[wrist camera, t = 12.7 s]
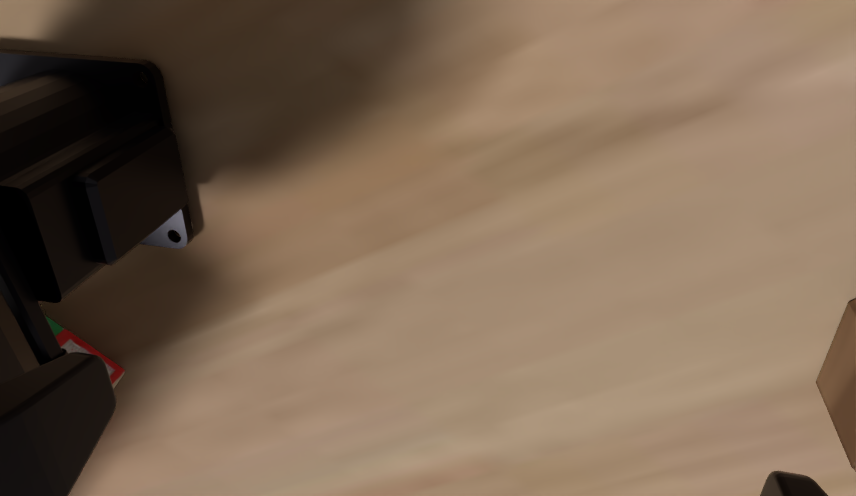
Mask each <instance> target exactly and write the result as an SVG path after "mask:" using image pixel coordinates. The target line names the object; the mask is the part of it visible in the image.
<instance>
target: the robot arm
mask: <svg viewBox="0 0 856 496" xmlns="http://www.w3.org/2000/svg"><path fill="white" fill-rule="evenodd" d="M141 72H143V73H144V74H145V75H146V77H147V79H148V83H145V82H144V81H143V80H142V78H141ZM174 230H175V231H177V232H178V233H179V234H180V236H181V237H179V236H178V235H177V234H175V232H174ZM192 238H193V229H192V224H191V219H190V214H189V208H188V196H187V191H186V186H185V180H184V175H183V170H182V165H181V160H180V155H179V150H178V145H177V140H176V135H175V133H174V132H173V128H172V122H171V117H170V112H169V107H168V102H167V97H166V92H165V87H164V82H163V77H162V74H161V72H160V70H159V69H158V67H157V66H156V65H155V64H153V63H152V62H151V61H147V60H140V59H126V58H113V57H99V56H85V55H71V54H58V53H44V52H30V51H16V50H3V49H0V496H68V495H69V493H70V491H71V490H72V488H73V486H74V484H75V482H76V480H77V479H78V477H79V475H80V473H81V471H82V470H83V468H84V466H85V464H86V462H87V461H88V459H89V457H90V455H91V453H92V452H93V450H94V448H95V446H96V444H97V443H98V441H99V439H100V437H101V435H102V434H103V432H104V430H105V428H106V426H107V425H108V423H109V421H110V419H111V417H112V415H113V413H114V410H115V407H116V395H115V392H114V389H113V385H112V382H111V379H110V376H109V373H108V369H107V366H106V363H105V361H104V360H103V359H102V358H101V357H100V356H98V355H93V354H87V353H81V352H72V353H68V352H67V350H66V349H63V348H61V347H60V345H59V343H58V341H57V339H56V336H55V334H54V332H53V330H52V328H51V326H50V324H49V322H48V320H47V318H46V316H45V314H44V312H43V310H42V308H41V306H40V303H41V302H42V301H46V302H53V303H58V302H60V301H61V300H63V299H64V298H65V297H66V296H68V295H69V294H70V293H71V292H73V291H74V290H75V289H76V288H77V287H79V286H80V285H81V284H82V283H84V282H85V281H86V280H87V279H89V278H90V277H91V276H92V275H93V274H95V273H96V272H97V271H98V270H100V269H101V268H102V267H103V266H105V265H113V264H115V263H116V262H118V261H119V260H120V259H121V258H123V257H124V256H125V255H126V254H127V253H129V252H130V251H131V250H132V249H133V248H135V247H136V246H137V245H138V244H145V245H152V246H160V247H168V248H175V249H180V248H183V247H185V246H186V245H187V244H188V243H189V242H190V241H191V240H192ZM760 496H828V495H827V494H826V493H825V492H824V491H823V490H822V488H821V487H820V486H819V485H818V484H817V483H816V482H815V481H814V480H813V479H811V478H810V477H808V476H805V475H800V474H794V473H788V472H782V471H773V472H771V473H770V474H769V476H768V477H767V479H766V482H765V485H764V487H763V490H762V492H761V495H760Z"/></svg>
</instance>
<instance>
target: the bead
mask: <svg viewBox="0 0 856 496" xmlns="http://www.w3.org/2000/svg"><path fill="white" fill-rule="evenodd" d="M816 384H817V386H818V388H819V391H820V393H821V396H822V398H823V400H824V403H825V405H826V407H827V410H828V412H829V415H830V417H831V419H832V422H833V424H834V426H835V429H836V431H837V434H838V436H839V438H840V441H841V443H842V445H843V448H844V450H845V453H846V455H847V457H848V460H849V462H850V464H851V467H852V468H853V469H854V470H855V471H856V299H855V300H853V301H851V302H848V305H847V307H846V310H845V312H844V314H843V317H842V319H841V322H840V324H839V327H838V329H837V332H836V334H835V337H834V339H833V342H832V344H831V346H830V349H829V351H828V354H827V356H826V359H825V361H824V364H823V366H822V369H821V371H820V373H819V376H818V378H817V381H816Z"/></svg>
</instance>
